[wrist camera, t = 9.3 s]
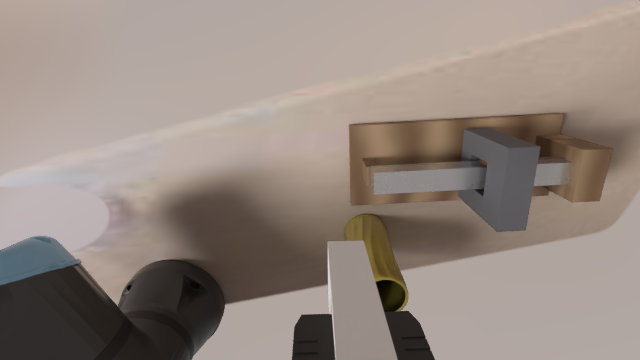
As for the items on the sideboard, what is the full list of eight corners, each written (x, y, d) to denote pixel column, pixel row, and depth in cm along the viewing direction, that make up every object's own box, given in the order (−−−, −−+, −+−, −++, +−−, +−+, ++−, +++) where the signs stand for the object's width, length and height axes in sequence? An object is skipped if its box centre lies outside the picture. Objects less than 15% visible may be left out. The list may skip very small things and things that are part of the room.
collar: (457, 195, 43) (496, 231, 34) (464, 129, 40) (508, 148, 31) (479, 194, 43) (525, 230, 33) (488, 127, 40) (540, 146, 30)
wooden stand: (350, 202, 45) (358, 232, 37) (348, 124, 42) (356, 139, 33) (542, 192, 45) (594, 221, 36) (557, 113, 41) (619, 125, 33)
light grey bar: (370, 187, 39) (374, 196, 36) (370, 164, 38) (374, 172, 36) (550, 177, 39) (568, 186, 36) (555, 154, 38) (573, 161, 35)
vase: (394, 226, 47) (424, 290, 33) (370, 257, 48) (390, 330, 35) (359, 206, 46) (376, 264, 32) (336, 238, 47) (343, 306, 34)
